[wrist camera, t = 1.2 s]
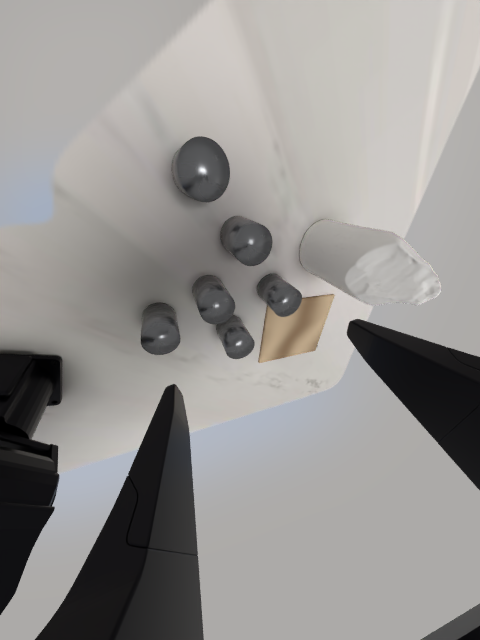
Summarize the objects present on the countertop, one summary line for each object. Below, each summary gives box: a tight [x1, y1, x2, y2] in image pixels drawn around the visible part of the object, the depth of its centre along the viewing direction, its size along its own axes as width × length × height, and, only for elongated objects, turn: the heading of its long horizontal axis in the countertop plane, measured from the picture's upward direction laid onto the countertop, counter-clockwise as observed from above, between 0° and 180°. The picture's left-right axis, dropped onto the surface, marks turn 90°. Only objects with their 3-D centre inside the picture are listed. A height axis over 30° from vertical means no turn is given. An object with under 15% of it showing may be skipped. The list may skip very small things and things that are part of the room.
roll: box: [299, 219, 441, 306], centre depth 18 cm, size 6×12×6 cm
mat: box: [258, 294, 335, 363], centre depth 29 cm, size 10×10×1 cm
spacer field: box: [141, 137, 302, 359], centre depth 19 cm, size 16×14×4 cm
